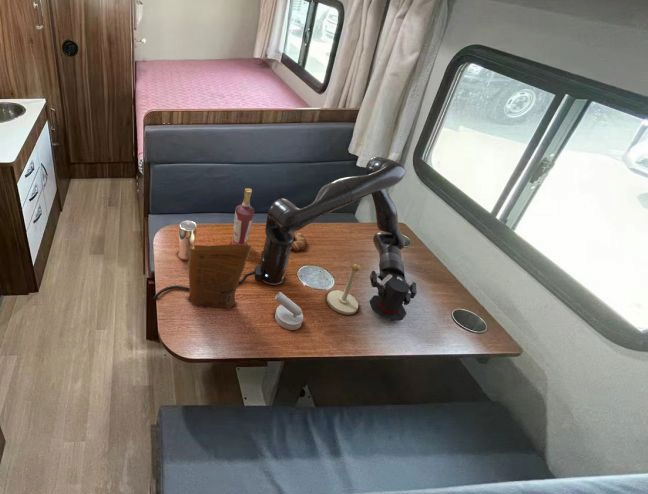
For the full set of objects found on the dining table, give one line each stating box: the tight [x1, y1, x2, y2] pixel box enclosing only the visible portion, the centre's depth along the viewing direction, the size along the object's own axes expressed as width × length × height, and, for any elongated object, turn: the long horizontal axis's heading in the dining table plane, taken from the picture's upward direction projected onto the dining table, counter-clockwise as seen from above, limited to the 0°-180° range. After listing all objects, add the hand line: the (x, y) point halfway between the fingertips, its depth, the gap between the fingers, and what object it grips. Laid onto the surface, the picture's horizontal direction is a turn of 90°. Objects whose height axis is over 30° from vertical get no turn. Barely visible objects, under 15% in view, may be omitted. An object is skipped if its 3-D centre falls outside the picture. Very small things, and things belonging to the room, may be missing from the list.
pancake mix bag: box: [187, 244, 252, 310], centre depth 130 cm, size 7×19×28 cm, turn 83°
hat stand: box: [326, 263, 361, 316], centre depth 133 cm, size 10×10×18 cm
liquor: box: [230, 187, 256, 245], centre depth 156 cm, size 7×7×28 cm
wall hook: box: [274, 291, 304, 331], centre depth 129 cm, size 9×10×10 cm
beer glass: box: [177, 220, 198, 261], centre depth 154 cm, size 7×7×15 cm
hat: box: [369, 278, 410, 322], centre depth 130 cm, size 11×11×11 cm
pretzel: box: [291, 231, 308, 252], centre depth 164 cm, size 12×11×4 cm
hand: (394, 299), depth 128 cm, fingers closed on hat, 6 cm apart
